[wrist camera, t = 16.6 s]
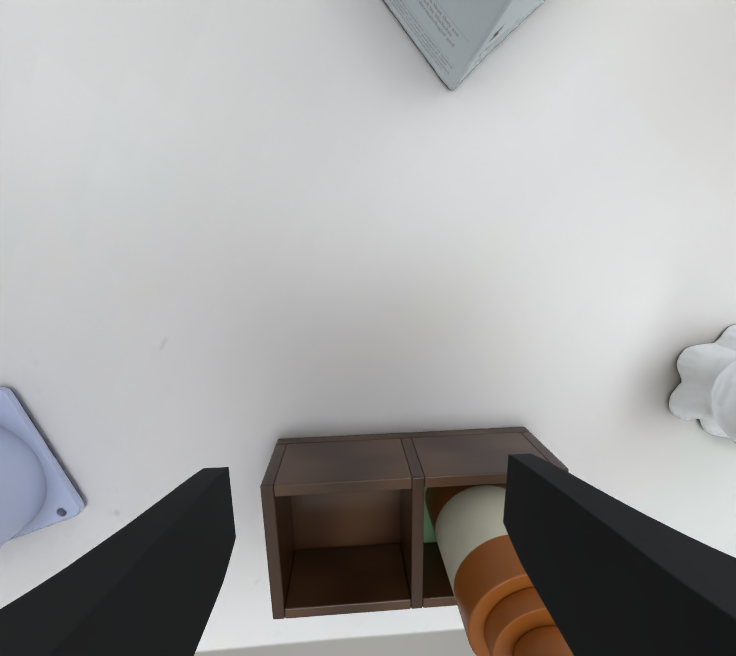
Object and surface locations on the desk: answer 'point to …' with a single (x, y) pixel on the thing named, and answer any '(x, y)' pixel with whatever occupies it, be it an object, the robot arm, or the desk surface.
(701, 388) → the rabbit
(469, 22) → the white packaging box
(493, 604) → the amber bottle
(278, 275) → the desk surface
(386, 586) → the wooden compartment tray
